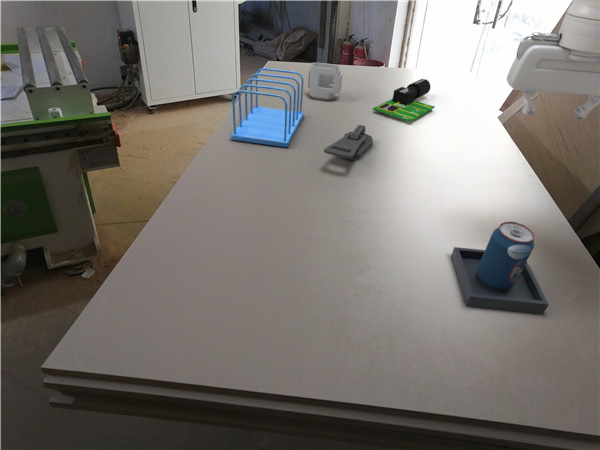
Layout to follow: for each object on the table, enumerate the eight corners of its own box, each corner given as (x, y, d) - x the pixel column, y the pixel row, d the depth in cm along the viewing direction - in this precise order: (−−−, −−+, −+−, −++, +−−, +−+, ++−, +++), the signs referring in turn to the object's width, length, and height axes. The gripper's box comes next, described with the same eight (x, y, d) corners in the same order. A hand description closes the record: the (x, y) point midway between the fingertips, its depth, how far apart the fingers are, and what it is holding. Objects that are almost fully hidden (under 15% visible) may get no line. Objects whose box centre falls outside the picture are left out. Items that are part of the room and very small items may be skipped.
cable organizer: (337, 102, 151) (341, 70, 144) (305, 98, 153) (307, 65, 146) (340, 97, 156) (344, 65, 149) (309, 92, 159) (311, 61, 151)
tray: (517, 263, 83) (522, 253, 81) (543, 314, 72) (549, 304, 70) (450, 256, 84) (454, 246, 82) (465, 306, 73) (470, 296, 71)
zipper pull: (320, 149, 105) (349, 116, 124) (318, 171, 109) (347, 136, 128) (353, 156, 103) (378, 122, 121) (350, 179, 107) (374, 142, 125)
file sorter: (287, 148, 119) (288, 97, 110) (231, 141, 122) (227, 90, 112) (303, 117, 139) (305, 71, 130) (254, 111, 141) (253, 65, 132)
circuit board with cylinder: (413, 105, 133) (374, 93, 141) (409, 125, 137) (371, 112, 145) (451, 85, 152) (415, 76, 159) (446, 103, 156) (411, 93, 164)
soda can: (512, 298, 74) (538, 248, 67) (472, 285, 76) (494, 236, 69) (513, 275, 79) (538, 226, 72) (476, 263, 81) (497, 215, 74)
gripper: (530, 35, 65) (501, 117, 73) (662, 44, 64) (617, 126, 72) (517, 27, 70) (491, 105, 78) (639, 35, 69) (600, 113, 77)
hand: (552, 115), depth 75 cm, fingers open, 8 cm apart
